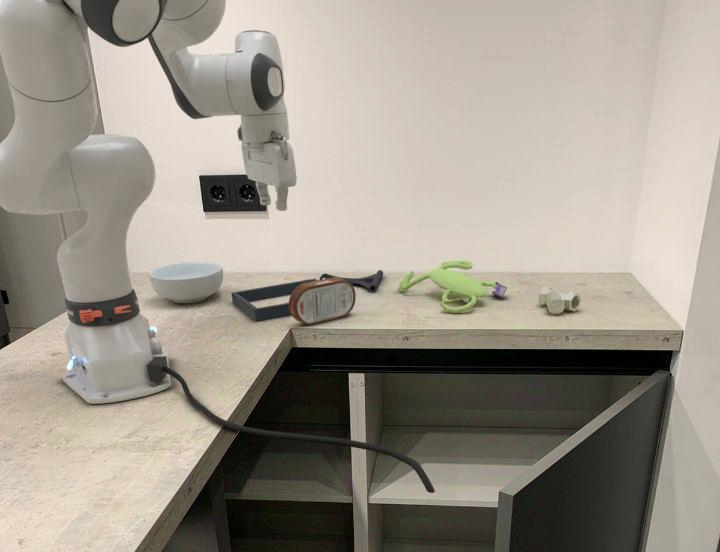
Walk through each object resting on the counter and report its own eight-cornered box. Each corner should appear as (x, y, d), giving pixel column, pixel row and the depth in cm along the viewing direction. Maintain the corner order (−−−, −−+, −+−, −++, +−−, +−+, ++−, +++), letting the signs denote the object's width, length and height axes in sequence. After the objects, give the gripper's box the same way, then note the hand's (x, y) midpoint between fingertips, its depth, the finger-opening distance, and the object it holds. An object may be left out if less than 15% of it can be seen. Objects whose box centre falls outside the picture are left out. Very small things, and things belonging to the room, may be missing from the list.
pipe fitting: (559, 319, 149) (580, 309, 152) (560, 300, 147) (581, 290, 150) (528, 311, 154) (548, 302, 157) (528, 293, 152) (549, 284, 155)
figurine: (457, 277, 180) (458, 254, 177) (524, 301, 159) (526, 276, 156) (391, 289, 173) (390, 265, 171) (452, 316, 152) (452, 289, 150)
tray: (345, 304, 164) (344, 293, 163) (255, 321, 157) (254, 309, 156) (315, 288, 178) (315, 278, 177) (232, 303, 170) (231, 292, 169)
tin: (351, 311, 159) (349, 272, 155) (359, 315, 157) (356, 275, 153) (289, 326, 153) (285, 285, 148) (296, 329, 150) (293, 288, 146)
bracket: (325, 277, 187) (324, 266, 185) (383, 276, 185) (382, 265, 183) (314, 293, 174) (313, 281, 173) (376, 292, 172) (376, 280, 171)
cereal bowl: (174, 313, 165) (168, 282, 162) (142, 300, 176) (137, 270, 173) (239, 297, 174) (235, 267, 171) (205, 286, 185) (201, 257, 182)
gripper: (301, 131, 132) (307, 212, 139) (264, 128, 149) (271, 200, 155) (268, 134, 130) (276, 216, 137) (234, 130, 147) (243, 203, 153)
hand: (273, 207), depth 146 cm, fingers open, 8 cm apart
